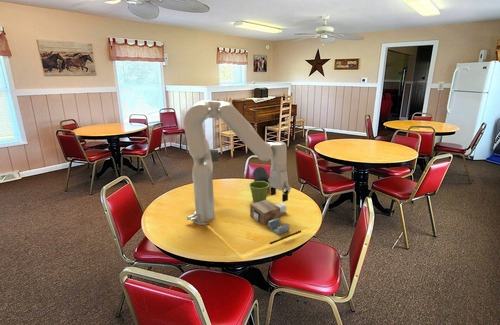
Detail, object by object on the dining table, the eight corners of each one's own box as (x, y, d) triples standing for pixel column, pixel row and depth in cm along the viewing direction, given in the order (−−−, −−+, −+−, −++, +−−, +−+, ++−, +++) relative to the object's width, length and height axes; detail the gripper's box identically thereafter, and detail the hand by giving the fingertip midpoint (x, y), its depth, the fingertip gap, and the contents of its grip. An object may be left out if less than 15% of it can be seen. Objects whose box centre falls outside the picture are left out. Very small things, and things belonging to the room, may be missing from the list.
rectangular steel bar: (258, 221, 144) (258, 214, 142) (253, 218, 147) (253, 211, 146) (286, 212, 153) (286, 205, 152) (281, 209, 156) (281, 202, 155)
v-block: (271, 244, 127) (271, 234, 125) (255, 232, 136) (255, 223, 135) (301, 232, 136) (301, 222, 135) (284, 221, 146) (284, 213, 144)
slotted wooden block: (263, 227, 141) (263, 213, 139) (250, 218, 150) (250, 204, 148) (279, 221, 146) (280, 207, 144) (265, 212, 156) (265, 199, 153)
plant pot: (269, 198, 174) (269, 181, 170) (269, 207, 162) (269, 188, 159) (250, 198, 175) (250, 180, 172) (248, 206, 164) (247, 188, 160)
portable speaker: (271, 192, 183) (271, 178, 180) (255, 193, 182) (255, 178, 179) (266, 178, 207) (266, 165, 204) (252, 179, 206) (252, 166, 204)
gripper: (262, 164, 150) (263, 194, 155) (284, 172, 136) (284, 205, 141) (274, 161, 154) (274, 191, 159) (296, 169, 140) (295, 201, 145)
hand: (279, 197), depth 150 cm, fingers open, 9 cm apart
